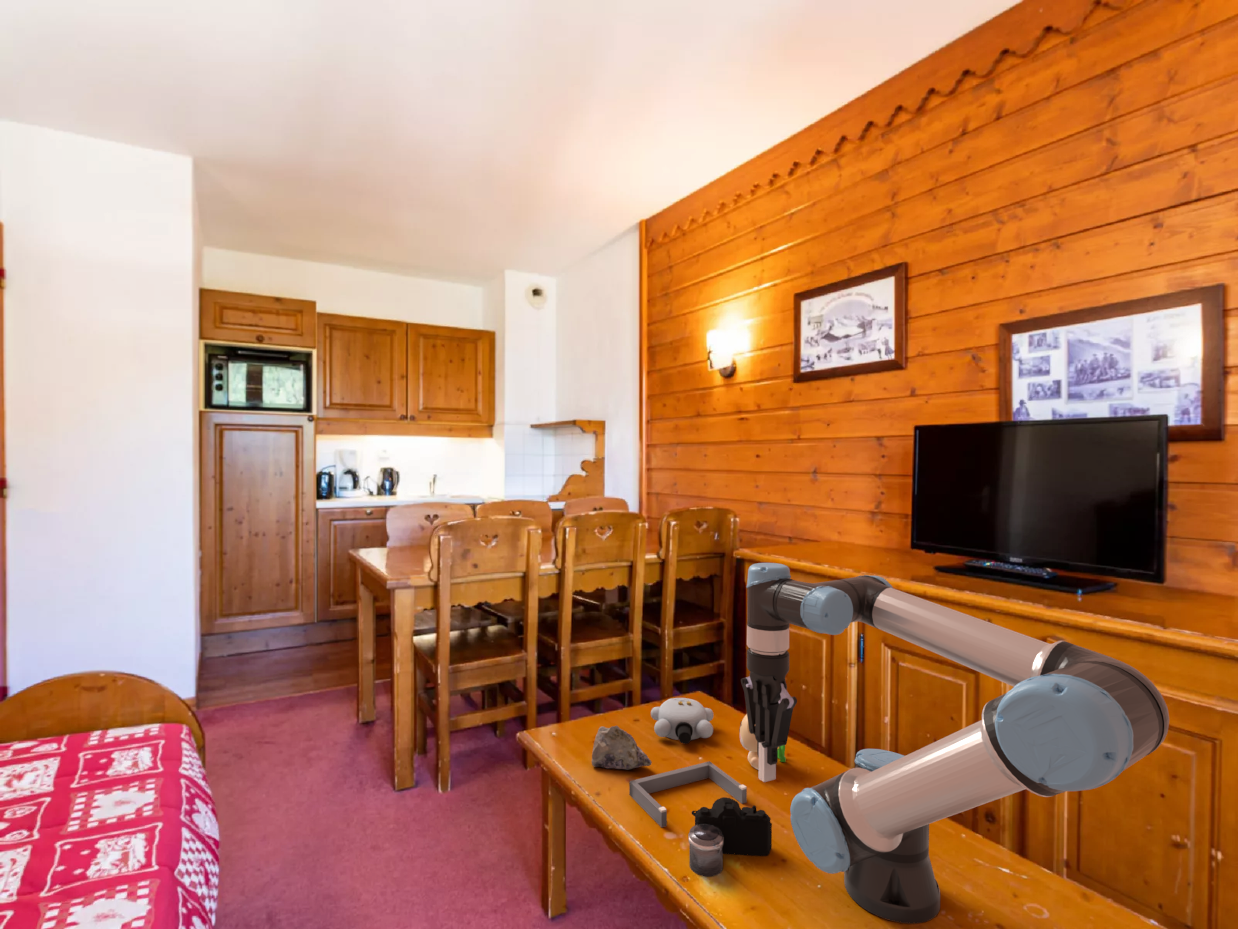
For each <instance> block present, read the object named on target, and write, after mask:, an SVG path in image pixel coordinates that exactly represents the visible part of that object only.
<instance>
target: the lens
mask: <svg viewBox="0 0 1238 929" xmlns="http://www.w3.org/2000/svg"><path fill="white" fill-rule="evenodd" d="M687 839H688V844H689V869H690V870H691V871H692V872H693V873H694V874H695V875H697V876H701V877H706V878H712V877H715V876H718V875H719V874H721V873H722V872H723V866H724V865H723V859H724V858H723V856H724V854H723V844H724V837H723V834H722V831H721V830H720V829H719V828H717V827H716V826H713V825H710V824H698V825H695V824H694V826H692V827H691V828H690V829H689V833H688V838H687Z"/></svg>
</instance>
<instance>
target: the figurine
mask: <svg viewBox="0 0 1238 929" xmlns="http://www.w3.org/2000/svg"><path fill="white" fill-rule="evenodd" d="M650 717H651V718H652V719H653V720H654V721H656V722H655V724H654V727H653V728H654V729H653V730H654V733H655V734H656V735H657V736H658V737H660V738H665V737H666V738H669V739H672V740H676V741H678V742H679V743H681V744H682V745H687V744H689V743H690V742H691V741H695V740H697V739H699V738H702V739H708V738H710V737H711V736H712V735H713V733H714V726H713V725H712V723H711V722H710V721H712V720H713V719H714V712H713V710H712V709H711V708H710V707H709V708H708V707H704V706H703V704H702V703H701V702H699V701H697V700H696V699H692V698H688V697H687V698H686V697H675V698H674V697H673V698H668V699H667V700H665V701H663V702H662V703H661V705H660V706H655V707H652V708H651V710H650Z"/></svg>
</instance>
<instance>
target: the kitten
mask: <svg viewBox="0 0 1238 929" xmlns="http://www.w3.org/2000/svg"><path fill="white" fill-rule="evenodd" d="M741 720H742V721H740V723H739V724H740V725H739V729H738V730H739V731H738V732H739V741H740V744H741V745H742V747H743V749H745V750H746V751H749V752H748V755H747V761H748V762H749V764H750V765H751V767H753V768H754V769H756V770H758V771H759V757H758V755H757V740H756V738H755V735H754V734H751V733H750V731H749V725H748V718H747V713H746V714H745V715H744V716H743V718H742V719H741ZM754 726H755V725H754ZM785 752H786V745H783V746H779V747H778V755H777V756H778V760H779V763H786V760H787V758H786V756H785V755H786V753H785Z"/></svg>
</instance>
